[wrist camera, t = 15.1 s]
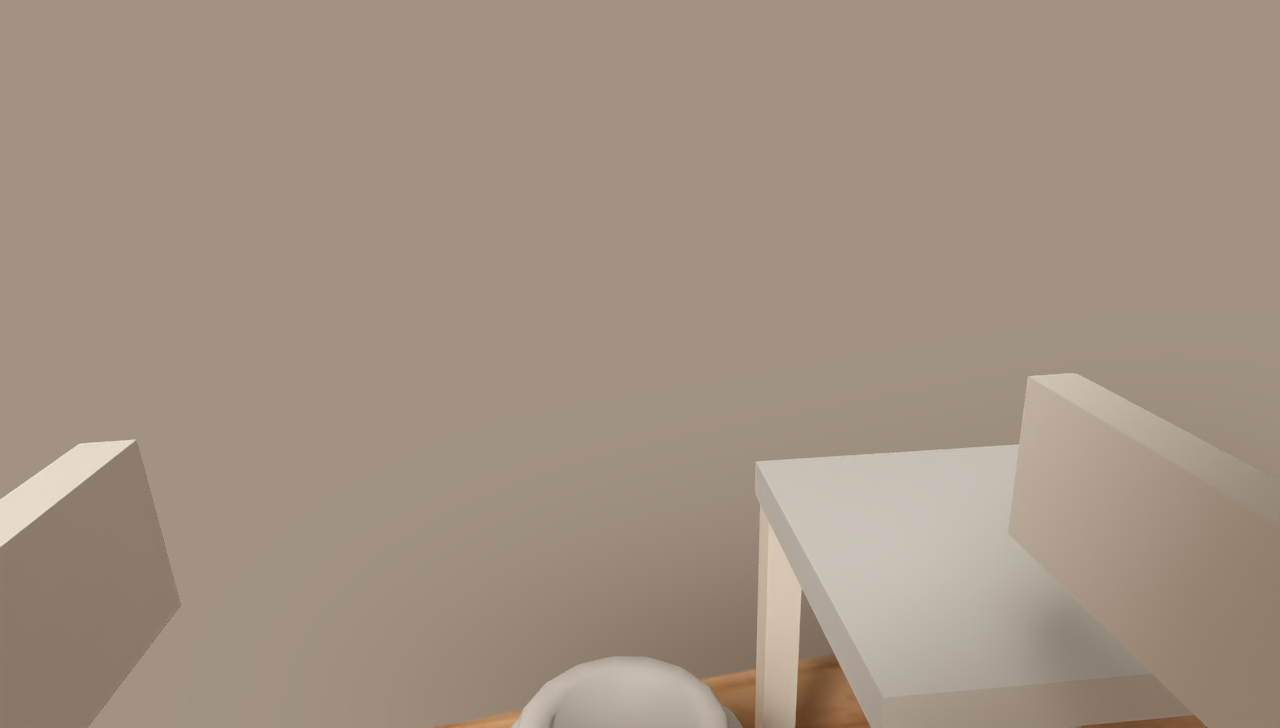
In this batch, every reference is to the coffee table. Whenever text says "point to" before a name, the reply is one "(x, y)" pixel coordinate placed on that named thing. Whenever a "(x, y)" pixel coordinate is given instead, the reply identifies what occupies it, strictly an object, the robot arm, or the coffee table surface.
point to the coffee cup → (626, 698)
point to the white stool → (930, 599)
